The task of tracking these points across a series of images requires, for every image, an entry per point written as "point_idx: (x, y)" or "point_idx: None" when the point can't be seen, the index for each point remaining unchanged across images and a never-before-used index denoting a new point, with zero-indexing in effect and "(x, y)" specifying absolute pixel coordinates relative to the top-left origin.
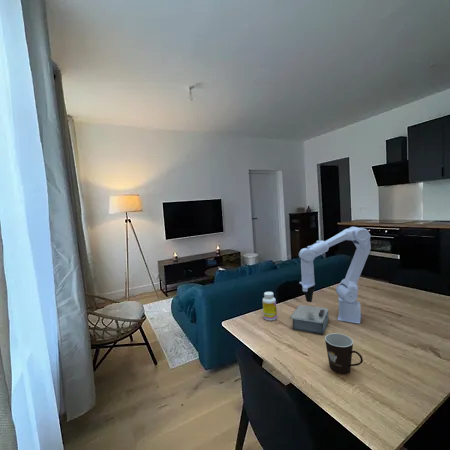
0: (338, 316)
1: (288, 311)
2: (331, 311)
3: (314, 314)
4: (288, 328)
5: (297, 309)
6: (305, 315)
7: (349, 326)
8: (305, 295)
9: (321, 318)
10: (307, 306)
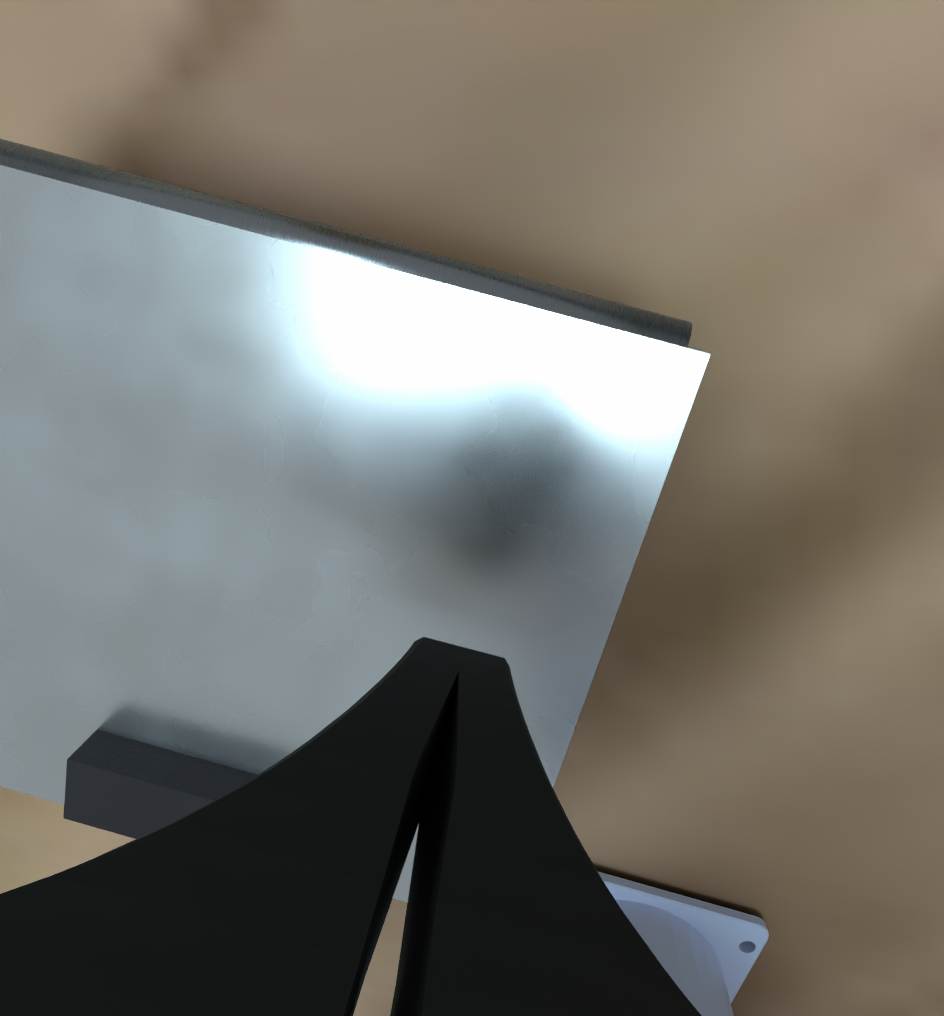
0: (636, 894)
1: (928, 31)
2: (868, 838)
3: (149, 664)
4: (108, 102)
5: (357, 294)
6: (49, 484)
7: (390, 928)
8: (297, 761)
9: (5, 757)
10: (582, 558)
